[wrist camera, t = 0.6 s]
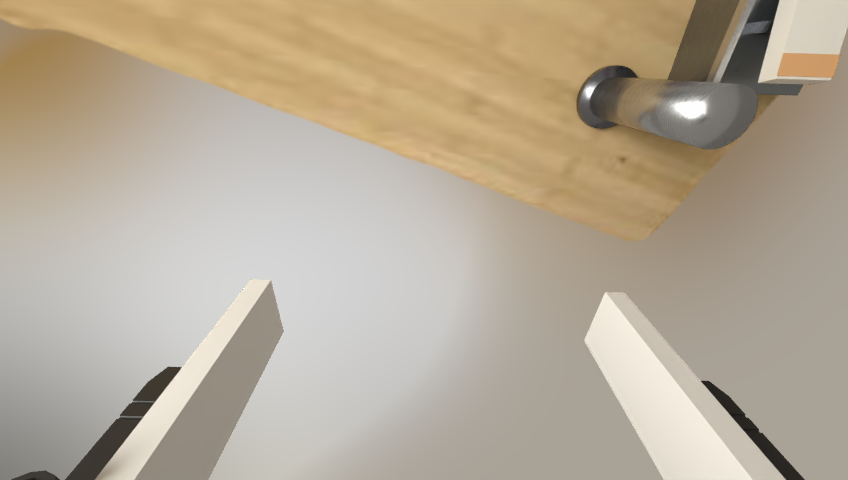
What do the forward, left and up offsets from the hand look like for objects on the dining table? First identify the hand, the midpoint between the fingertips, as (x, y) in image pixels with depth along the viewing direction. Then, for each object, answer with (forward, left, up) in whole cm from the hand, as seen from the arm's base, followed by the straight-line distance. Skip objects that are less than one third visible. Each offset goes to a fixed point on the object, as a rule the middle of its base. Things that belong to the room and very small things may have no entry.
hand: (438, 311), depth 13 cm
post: (-6, +19, -27) cm, 33 cm away
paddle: (-12, +29, -20) cm, 37 cm away
